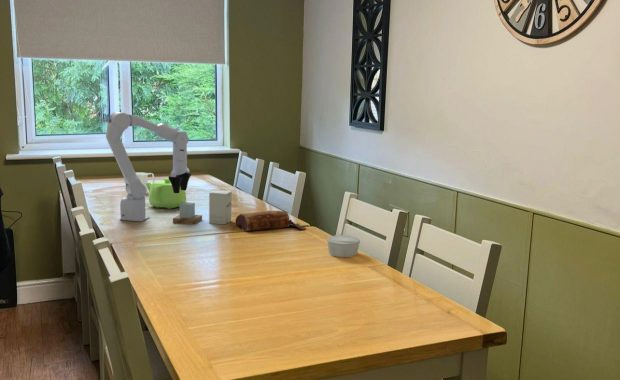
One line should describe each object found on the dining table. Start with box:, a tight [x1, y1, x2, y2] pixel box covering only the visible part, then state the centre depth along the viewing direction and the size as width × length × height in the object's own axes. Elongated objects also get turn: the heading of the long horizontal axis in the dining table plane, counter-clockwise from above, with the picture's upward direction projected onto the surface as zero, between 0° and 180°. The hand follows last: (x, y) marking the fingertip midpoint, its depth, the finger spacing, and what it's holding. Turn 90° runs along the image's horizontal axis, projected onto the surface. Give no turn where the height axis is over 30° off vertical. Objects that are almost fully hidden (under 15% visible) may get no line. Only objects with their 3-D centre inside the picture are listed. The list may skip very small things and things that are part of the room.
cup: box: [135, 172, 156, 195], centre depth 303 cm, size 8×12×10 cm
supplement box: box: [208, 189, 233, 225], centre depth 242 cm, size 7×7×13 cm
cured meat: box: [234, 210, 306, 232], centre depth 237 cm, size 18×25×7 cm
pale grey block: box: [179, 201, 196, 218], centre depth 242 cm, size 4×4×6 cm
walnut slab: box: [172, 214, 203, 225], centre depth 243 cm, size 9×9×2 cm
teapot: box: [146, 177, 187, 210], centre depth 271 cm, size 18×20×13 cm
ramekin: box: [326, 234, 361, 258], centre depth 201 cm, size 11×11×5 cm
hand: (180, 191), depth 251 cm, fingers open, 7 cm apart
